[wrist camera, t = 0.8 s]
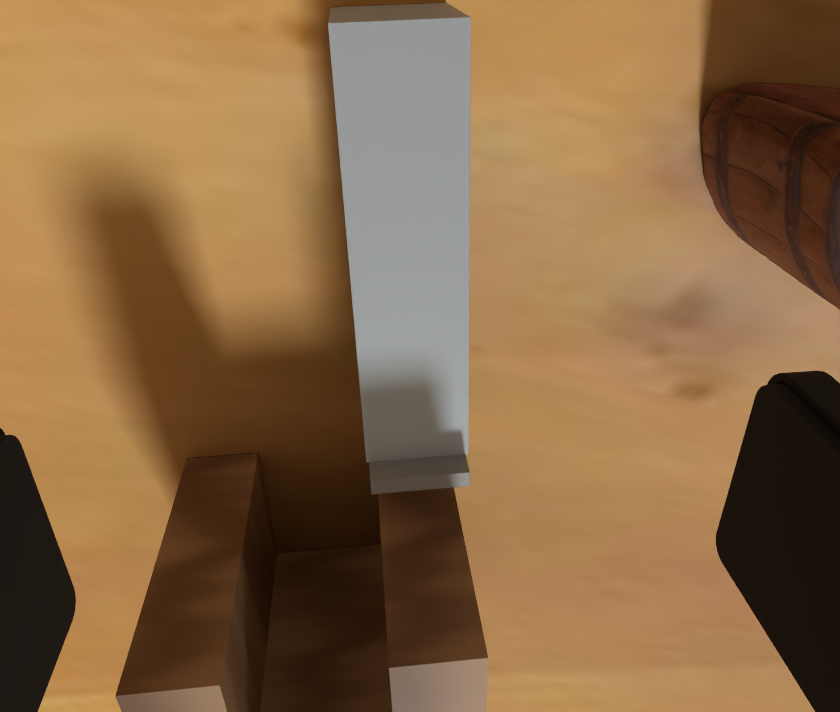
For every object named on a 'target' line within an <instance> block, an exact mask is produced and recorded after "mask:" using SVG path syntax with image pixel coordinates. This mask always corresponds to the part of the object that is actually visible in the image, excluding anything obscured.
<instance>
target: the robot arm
mask: <svg viewBox="0 0 840 712" xmlns="http://www.w3.org/2000/svg"><path fill="white" fill-rule="evenodd" d="M716 546H717V551H718V554H719V557H720V559H721V561H722V563H723V565H724V567H725V568H726V570H727V571H728V573H729V574H730V576H731V578H732V579H733V581H734V582H735V584H736V586H737V587H738V589H739V590H740V592H741V594H742V595H743V597H744V598H745V600H746V602H747V603H748V605H749V606H750V608H751V610H752V611H753V613H754V614H755V616H756V618H757V619H758V621H759V622H760V624H761V626H762V627H763V629H764V630H765V632H766V634H767V635H768V637H769V638H770V640H771V642H772V643H773V645H774V646H775V648H776V650H777V651H778V653H779V654H780V656H781V658H782V659H783V661H784V662H785V664H786V665H787V667H788V669H789V670H790V672H791V673H792V675H793V677H794V678H795V680H796V681H797V683H798V685H799V686H800V688H801V689H802V691H803V693H804V694H805V696H806V697H807V699H808V701H809V702H810V704H811V705H812V707H813V709H814V710H815V712H840V383H838V382H837V381H836V380H835V379H834V378H833V377H832V376H830V375H829V374H827V373H825V372H823V371H807V372H792V373H779V374H776V375H774V376H773V377H772V378H771V379H770V380H769V382H768V384H767V385H765V386H762V387H761V388H760V389H759V390H758V391H757V394H756V396H755V400H754V403H753V407H752V410H751V414H750V417H749V421H748V424H747V428H746V431H745V435H744V438H743V442H742V445H741V449H740V453H739V456H738V460H737V463H736V467H735V470H734V474H733V477H732V481H731V484H730V488H729V491H728V495H727V498H726V502H725V505H724V509H723V512H722V516H721V519H720V523H719V526H718V530H717V534H716ZM75 603H76V598H75V591H74V587H73V584H72V581H71V579H70V576H69V573H68V570H67V568H66V565H65V562H64V560H63V557H62V554H61V551H60V549H59V546H58V543H57V541H56V538H55V535H54V532H53V530H52V527H51V524H50V521H49V519H48V516H47V513H46V511H45V508H44V505H43V502H42V500H41V497H40V494H39V492H38V489H37V486H36V483H35V481H34V478H33V475H32V473H31V470H30V467H29V464H28V462H27V459H26V456H25V454H24V451H23V448H22V445H21V443H20V441H19V440H18V439H17V438H16V437H15V436H13V435H5V434H4V432H3V430H2V429H1V428H0V712H38V709H39V707H40V704H41V701H42V699H43V696H44V693H45V691H46V688H47V686H48V683H49V680H50V678H51V675H52V673H53V670H54V667H55V665H56V662H57V659H58V657H59V654H60V652H61V649H62V646H63V644H64V641H65V638H66V636H67V633H68V631H69V628H70V625H71V623H72V620H73V617H74V612H75Z"/></svg>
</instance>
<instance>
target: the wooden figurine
mask: <svg viewBox="0 0 840 712" xmlns="http://www.w3.org/2000/svg"><path fill="white" fill-rule="evenodd" d="M702 150H703V165H704V179H705V182H706V185H707V188H708V190H709V193H710V195H711V197H712V199H713V202H714V204H715V207H716V209H717V211H718V212H719V214H720V216H721V217H722V218H723V220H724V221H725V222H726V224H727V225H728V226H729V227H730V228H731V229H732V230H733V231H734V232H735V233H736V235H737V236H738V237H739V238H741V239H742V240H743V241H745V242H746V243H747V244H748V245H750V246H751V247H752V248H754V249H755V250H757V251H758V252H760V253H761V254H762V255H764V256H766V257H767V258H768V259H769V260H770V261H772V262H773V263H775V264H776V265H778V266H779V267H780V268H782V269H783V270H784V271H786V272H787V273H789V274H790V275H791V276H793V277H794V278H795V279H797V280H798V281H799V282H801V283H802V284H804V285H805V286H807V287H808V288H809V289H811V290H812V291H814V292H815V293H817V294H818V295H819V296H821V297H822V298H824V299H825V300H827V301H828V302H830V303H831V304H833V305H834V306H836V307H837V308H838V309H840V89H836V88H827V87H819V86H808V85H797V84H783V83H750V84H746V85H740V86H737V87H734V88H732V89H730V90H729V91H727V92H726V93H722V94H721V95H719V96H717V97H716V98H715V99H714V101H713V102H712V103H711V105H710V107H709V109H708V111H707V113H706V115H705V117H704V121H703V124H702Z"/></svg>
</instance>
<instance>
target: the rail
mask: <svg viewBox="0 0 840 712" xmlns="http://www.w3.org/2000/svg"><path fill="white" fill-rule="evenodd" d="M328 30H329V42H330V53H331V64H332V76H333V87H334V99H335V110H336V121H337V133H338V144H339V156H340V167H341V178H342V190H343V201H344V213H345V224H346V235H347V247H348V258H349V270H350V281H351V292H352V304H353V315H354V327H355V338H356V349H357V361H358V372H359V384H360V395H361V406H362V418H363V429H364V441H365V452H366V462H369V467H370V484H371V494H381V493H393V492H404V491H416V490H427V489H439V488H451V487H462V486H470V472H469V468H468V464H467V459H466V455H465V454H468V379H469V212H470V46H471V17H469V16H468V15H466V14H464V13H463V12H461V11H459V10H458V9H456V8H454V7H453V6H451V5H449V4H447V3H423V4H399V5H374V6H350V7H331V9H330V15H329V20H328Z"/></svg>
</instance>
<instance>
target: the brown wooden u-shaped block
mask: <svg viewBox="0 0 840 712" xmlns="http://www.w3.org/2000/svg"><path fill="white" fill-rule="evenodd" d="M378 502H379V518H380V534H381V544H374V545H363V546H352V547H341V548H330V549H319V550H308V551H297V552H286V553H277V551H276V546H275V540H274V535H273V530H272V524H271V519H270V514H269V508H268V503H267V497H266V492H265V487H264V481H263V476H262V471H261V465H260V460H259V454H258V453H251V454H239V455H226V456H214V457H202V458H190V459H187V461H186V464H185V467H184V471H183V474H182V477H181V480H180V484H179V487H178V490H177V494H176V497H175V500H174V504H173V507H172V510H171V514H170V517H169V520H168V524H167V527H166V530H165V533H164V537H163V540H162V543H161V547H160V550H159V553H158V557H157V560H156V563H155V567H154V570H153V573H152V577H151V580H150V583H149V586H148V590H147V593H146V596H145V600H144V603H143V606H142V610H141V613H140V616H139V620H138V623H137V626H136V630H135V633H134V636H133V639H132V643H131V646H130V649H129V653H128V656H127V659H126V663H125V666H124V669H123V673H122V676H121V679H120V683H119V686H118V689H117V692H116V699H117V701H118V704H119V706H120V709H121V711H122V712H486V710H487V676H488V655H487V650H486V645H485V640H484V635H483V630H482V625H481V621H480V616H479V611H478V606H477V601H476V596H475V591H474V586H473V581H472V576H471V571H470V566H469V561H468V556H467V551H466V546H465V541H464V536H463V531H462V527H461V522H460V517H459V512H458V507H457V502H456V497H455V492H454V487H451V488H439V489H427V490H416V491H404V492H393V493H381V494H378Z"/></svg>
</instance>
